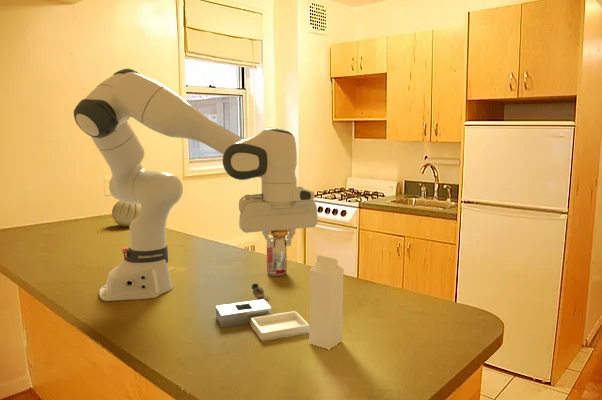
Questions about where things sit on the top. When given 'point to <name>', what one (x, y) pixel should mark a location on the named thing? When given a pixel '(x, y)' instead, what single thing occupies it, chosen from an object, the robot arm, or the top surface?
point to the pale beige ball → (125, 213)
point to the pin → (279, 248)
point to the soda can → (270, 263)
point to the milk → (326, 303)
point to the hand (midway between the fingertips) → (278, 246)
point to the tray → (279, 325)
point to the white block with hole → (241, 312)
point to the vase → (258, 292)
